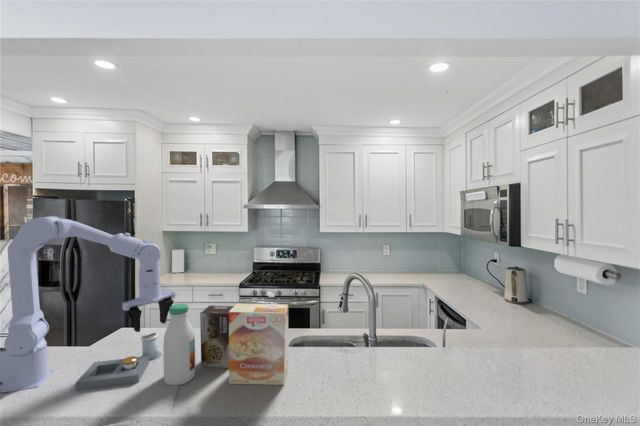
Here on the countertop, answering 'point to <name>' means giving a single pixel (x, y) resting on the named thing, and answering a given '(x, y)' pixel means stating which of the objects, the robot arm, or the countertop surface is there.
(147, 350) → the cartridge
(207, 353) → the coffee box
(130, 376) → the grey flat block
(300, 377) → the countertop surface
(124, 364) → the plunger
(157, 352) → the pad
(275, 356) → the coffeecake box
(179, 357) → the milk bottle
